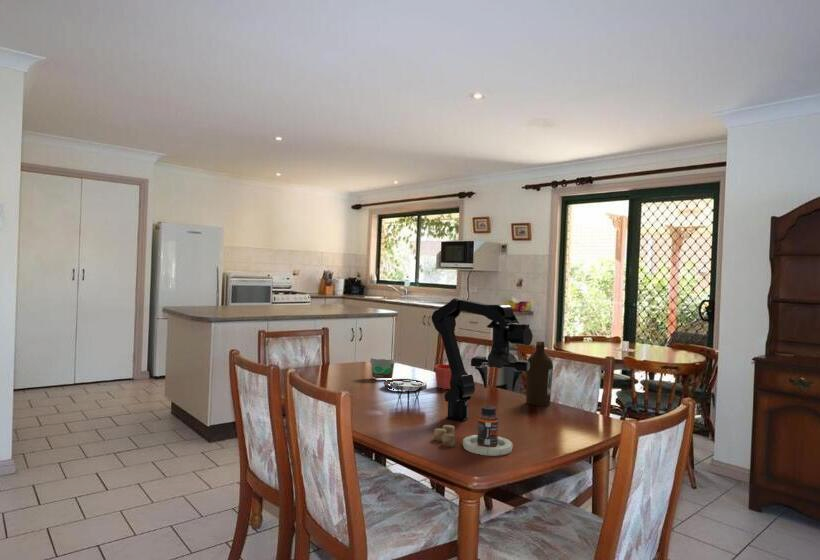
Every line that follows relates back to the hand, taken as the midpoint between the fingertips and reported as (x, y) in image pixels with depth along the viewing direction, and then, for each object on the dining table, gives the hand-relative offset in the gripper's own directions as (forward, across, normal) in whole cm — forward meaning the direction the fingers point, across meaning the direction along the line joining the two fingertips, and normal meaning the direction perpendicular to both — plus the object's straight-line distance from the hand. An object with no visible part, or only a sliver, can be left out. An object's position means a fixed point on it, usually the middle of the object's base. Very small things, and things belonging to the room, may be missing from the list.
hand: (499, 389), depth 182 cm
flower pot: (+13, -36, +54) cm, 66 cm away
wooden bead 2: (+13, -12, -16) cm, 24 cm away
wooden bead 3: (+13, -9, -25) cm, 30 cm away
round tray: (+13, +2, -22) cm, 26 cm away
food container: (+13, -69, +55) cm, 89 cm away
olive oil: (+13, +6, +45) cm, 47 cm away
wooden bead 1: (+13, -13, -21) cm, 28 cm away
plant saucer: (+13, -52, +42) cm, 68 cm away
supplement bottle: (+13, +2, -22) cm, 25 cm away
